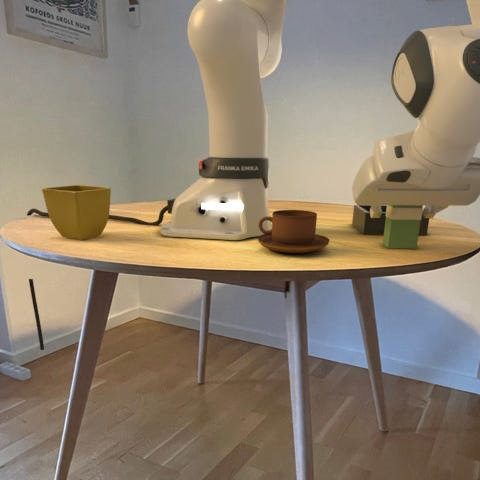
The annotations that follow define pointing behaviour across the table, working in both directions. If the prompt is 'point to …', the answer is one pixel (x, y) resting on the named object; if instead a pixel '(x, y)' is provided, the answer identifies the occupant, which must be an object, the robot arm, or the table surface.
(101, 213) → the flower pot
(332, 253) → the table surface
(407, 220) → the packet
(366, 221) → the dark open box
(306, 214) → the cup and saucer
